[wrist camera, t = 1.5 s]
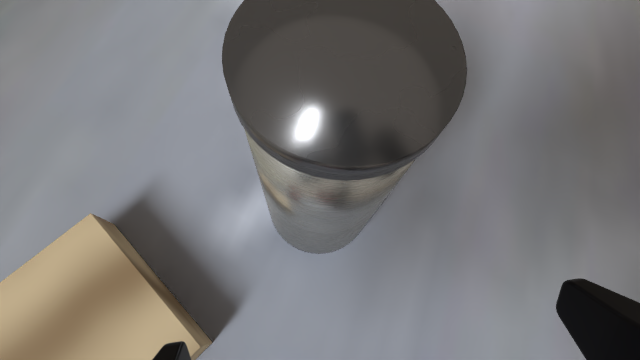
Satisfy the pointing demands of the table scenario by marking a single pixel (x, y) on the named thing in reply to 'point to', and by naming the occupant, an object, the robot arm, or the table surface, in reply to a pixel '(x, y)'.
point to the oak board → (91, 302)
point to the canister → (339, 104)
